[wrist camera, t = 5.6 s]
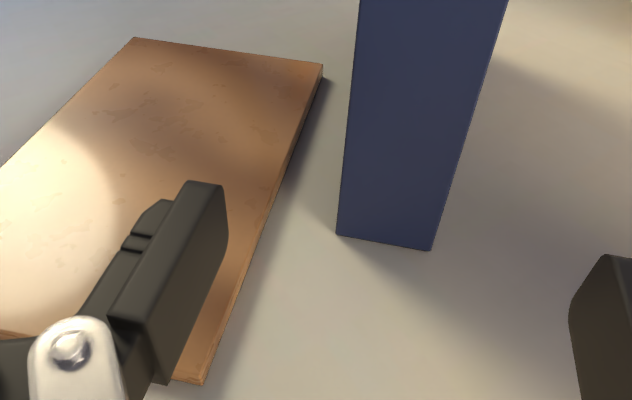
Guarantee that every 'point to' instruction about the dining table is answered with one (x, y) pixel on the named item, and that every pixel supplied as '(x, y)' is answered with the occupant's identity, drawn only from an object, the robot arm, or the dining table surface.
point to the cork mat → (147, 176)
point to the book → (411, 113)
